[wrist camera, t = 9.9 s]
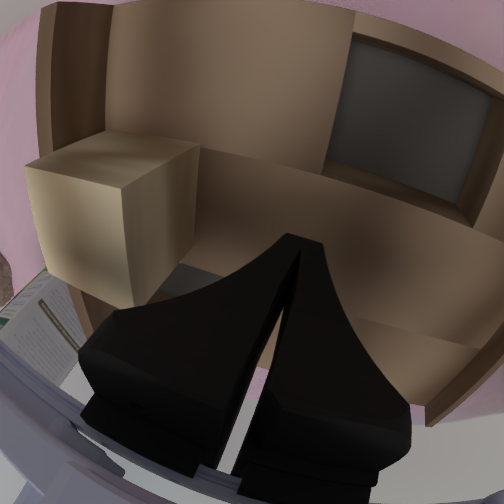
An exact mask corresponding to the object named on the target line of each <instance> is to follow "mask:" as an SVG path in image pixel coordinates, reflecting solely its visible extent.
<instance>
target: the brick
mask: <svg viewBox="0 0 504 504" xmlns="http://www.w3.org/2000/svg"><path fill="white" fill-rule="evenodd" d="M11 279H12V273H11V268H10V265H9V263H8V262H7V260H5V258H4V257H3V256H2V254H1V253H0V307H2V306H4V305H5V304H6V303H7V302H8V301H9V300H11V297H12V296H13V292H14V290H13V287H12V280H11Z"/></svg>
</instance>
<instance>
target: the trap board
mask: <svg viewBox="0 0 504 504" xmlns="http://www.w3.org/2000/svg"><path fill="white" fill-rule="evenodd" d="M36 119H37V135H38V146H39V156H40V158H41V157H43V156H45V155H47V154H50V153H52V152H54V151H56V150H59V149H61V148H63V147H65V146H68V145H70V144H72V143H75V142H77V141H80V140H82V139H85V138H87V137H90V136H92V135H95V134H98V133H100V132H103V131H106V130H113V131H122V132H130V133H138V134H145V135H152V136H159V137H165V138H171V139H177V140H183V141H189V142H195V143H200V155H199V167H198V180H197V194H196V210H195V227H194V246H193V247H192V248H191V250H190V251H189V252H188V253H187V254H186V255H185V257H184V258H183V259H182V260H181V261H180V263H179V264H178V265H177V266H176V267H175V269H174V270H173V271H172V272H171V273H170V275H169V276H168V277H167V278H166V280H165V281H164V282H163V283H162V284H161V286H160V287H159V288H158V289H157V291H156V292H155V293H154V294H153V295H152V297H151V298H150V299H149V300H148V302H147V303H146V304H145V305H148V304H152V303H156V302H160V301H164V300H168V299H171V298H175V297H178V296H181V295H184V294H187V293H190V292H193V291H195V290H198V289H200V288H203V287H205V286H207V285H210V284H212V283H214V282H216V281H218V280H220V279H222V278H224V277H226V276H228V275H230V274H231V273H233V272H235V271H237V270H238V269H240V268H241V267H243V266H244V265H246V264H247V263H249V262H251V261H252V260H254V259H255V258H256V257H258V256H259V255H260V254H262V253H263V252H264V251H266V250H267V249H268V248H269V247H270V246H272V245H273V244H274V243H275V242H276V241H277V240H278V239H279V238H280V237H281V236H282V235H283V234H285V233H290V234H294V235H297V236H301V237H304V238H307V239H311V240H314V241H317V242H321V243H322V244H323V245H324V249H325V255H326V260H327V264H328V268H329V271H330V275H331V278H332V281H333V284H334V287H335V290H336V292H337V295H338V297H339V300H340V302H341V305H342V307H343V309H344V312H345V314H346V316H347V318H348V320H349V322H350V324H351V326H352V328H353V330H354V331H355V333H356V335H357V337H358V338H359V340H360V341H361V343H362V345H363V346H364V348H365V349H366V351H367V352H368V354H369V355H370V357H371V358H372V360H373V361H374V363H375V364H376V365H377V366H378V368H379V369H380V370H381V372H382V373H383V374H384V376H385V377H386V378H387V380H388V381H389V382H390V383H391V384H392V385H393V386H394V388H395V389H396V390H397V391H398V392H399V393H400V394H401V395H402V397H403V398H404V399H405V400H406V401H407V402H408V403H409V404H415V405H421V406H425V427H432V426H434V425H435V424H436V423H438V422H439V421H440V420H442V419H443V418H444V417H445V416H447V415H448V414H449V413H450V412H452V411H453V410H454V409H455V408H456V407H458V406H459V405H460V404H461V403H462V402H463V401H465V400H466V399H467V398H468V397H469V396H470V395H471V394H472V393H473V392H475V391H476V390H477V389H478V388H479V387H480V386H481V385H482V384H483V383H484V382H485V381H486V380H487V379H488V378H489V377H490V376H491V375H492V374H493V373H494V372H495V371H496V370H497V369H498V368H499V367H500V366H501V365H502V364H503V363H504V73H503V72H501V71H500V70H498V69H496V68H495V67H493V66H491V65H490V64H488V63H486V62H484V61H482V60H481V59H479V58H477V57H475V56H473V55H471V54H469V53H467V52H465V51H463V50H461V49H459V48H457V47H455V46H453V45H451V44H449V43H447V42H444V41H442V40H440V39H438V38H435V37H433V36H430V35H428V34H426V33H423V32H420V31H418V30H415V29H413V28H410V27H407V26H404V25H401V24H399V23H396V22H392V21H389V20H386V19H383V18H380V17H376V16H373V15H369V14H366V13H362V12H358V11H354V10H350V9H346V8H341V7H337V6H332V5H327V4H321V3H316V2H310V1H303V0H141V1H135V2H129V3H123V4H118V5H106V4H96V3H82V2H55V3H53V4H50V5H48V6H45V7H43V8H41V15H40V22H39V31H38V42H37V56H36ZM66 283H67V282H66ZM67 286H68V290H69V293H70V296H71V299H72V302H73V305H74V307H75V310H76V313H77V316H78V318H79V321H80V324H81V326H82V329H83V332H84V334H85V337H86V339H87V340H88V338H89V337H90V336H91V335H92V334H93V332H94V331H95V330H96V329H97V328H98V326H99V325H100V324H101V323H102V322H103V321H104V320H105V319H106V318H107V317H108V316H109V315H110V314H111V313H112V312H113V311H114V310H120V309H119V308H117V307H115V306H113V305H110V304H108V303H106V302H104V301H102V300H100V299H98V298H96V297H94V296H92V295H90V294H88V293H86V292H84V291H82V290H80V289H78V288H76V287H74V286H72V285H70V284H68V283H67ZM282 313H283V310H282V312H281V315H280V317H279V319H278V321H277V323H276V325H275V327H274V330H273V332H272V334H271V336H270V338H269V340H268V342H267V344H266V347H265V349H264V351H263V353H262V355H261V357H260V359H259V362H258V364H257V366H258V367H261V368H265V369H268V370H269V369H270V366H271V362H272V358H273V354H274V349H275V345H276V340H277V336H278V331H279V327H280V322H281V318H282Z"/></svg>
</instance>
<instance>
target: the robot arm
mask: <svg viewBox="0 0 504 504" xmlns="http://www.w3.org/2000/svg"><path fill="white" fill-rule="evenodd" d="M282 310H283V313H282V318H281V322H280V327H279V331H278V336H277V340H276V345H275V349H274V354H273V358H272V362H271V366H270V369H269V372H268V375H267V378H266V381H265V384H264V387H263V390H262V392H261V395H260V398H259V401H258V404H257V406H256V409H255V412H254V415H253V417H252V420H251V423H250V425H249V428H248V431H247V433H246V436H245V438H244V441H243V444H242V446H241V449H240V451H239V454H238V456H237V459H236V461H235V464H234V467H233V469H232V471H231V474H230V475H229V474H226V473H224V472H221V471H218V470H216V469H217V467H218V464H219V462H220V460H221V457H222V455H223V452H224V450H225V447H226V444H227V442H228V439H229V437H230V434H231V432H232V429H233V427H234V424H235V422H236V419H237V416H238V414H239V411H240V409H241V406H242V403H243V401H244V398H245V396H246V393H247V390H248V388H249V385H250V382H251V380H252V377H253V374H254V372H255V369H256V366H257V364H258V362H259V359H260V357H261V355H262V353H263V351H264V349H265V347H266V344H267V342H268V340H269V338H270V336H271V334H272V332H273V330H274V327H275V325H276V323H277V321H278V319H279V317H280V315H281V312H282ZM78 361H79V364H80V366H81V369H82V371H83V372H84V375H85V376H86V378H87V380H88V382H89V383H90V385H91V387H92V389H93V390H94V392H95V393H94V395H93V396H92V397H91V399H90V400H89V402H88V403H87V405H86V406H85V405H84V404H82V403H81V402H79V401H77V400H76V399H75V398H73V397H72V396H70V395H68V394H67V393H66V392H64V391H63V390H62V389H60V388H59V387H57V386H56V385H55V384H53V383H52V382H51V381H49V380H48V379H47V378H45V377H44V376H43V375H42V374H40V373H39V372H38V371H36V370H35V369H34V368H33V367H31V366H30V365H29V364H28V363H27V362H25V361H24V360H23V359H22V358H21V357H20V356H18V355H17V354H16V353H15V352H14V351H13V350H12V349H10V348H9V347H8V346H7V345H6V344H5V343H4V342H3V341H2V340H1V339H0V451H1V453H2V454H3V455H4V457H5V458H6V459H7V460H8V461H9V462H10V463H11V465H12V466H13V467H14V468H15V469H16V470H17V471H18V472H19V473H20V474H21V475H22V476H23V477H24V478H25V479H26V480H27V483H26V484H25V486H24V487H23V489H22V491H21V493H20V494H19V496H18V498H17V499H16V501H15V502H14V504H176V503H174V502H171V501H169V500H167V499H165V498H162V497H160V496H158V495H156V494H153V493H151V492H149V491H147V490H145V489H143V488H141V487H139V486H137V485H135V484H133V483H131V482H129V481H127V480H125V479H123V476H124V474H125V470H124V469H123V468H122V467H120V466H119V465H117V464H116V463H115V462H113V460H111V459H110V458H109V457H108V456H107V455H106V453H105V451H104V450H102V449H100V448H99V447H98V446H96V445H95V444H93V443H92V442H91V441H89V440H88V439H87V438H85V437H84V436H83V435H81V434H80V433H79V432H78V430H79V431H81V432H82V433H84V434H85V435H87V436H88V437H90V438H91V439H93V440H94V441H96V442H98V443H99V444H101V445H102V446H104V447H106V448H107V449H109V450H111V451H113V452H114V453H116V454H118V455H120V456H121V457H123V458H125V459H127V460H129V461H130V462H132V463H134V464H136V465H138V466H140V467H142V468H144V469H146V470H148V471H150V472H152V473H154V474H156V475H159V476H161V477H163V478H165V479H167V480H169V481H172V482H174V483H177V484H179V485H181V486H184V487H186V488H189V489H191V490H194V491H196V492H199V493H202V494H204V495H207V496H210V497H213V498H216V499H219V500H221V501H225V502H228V503H231V504H377V503H369V498H370V492H371V487H374V486H376V484H377V482H378V475H379V471H381V470H383V469H384V468H386V467H388V466H390V465H392V464H394V463H395V462H397V461H399V460H400V459H401V458H402V457H404V456H405V455H406V454H407V453H408V452H409V450H410V448H411V435H412V434H411V433H412V422H411V413H410V405H409V403H408V402H407V401H406V400H405V399H404V398H403V397H402V395H401V394H400V393H399V392H398V391H397V390H396V389H395V388H394V386H393V385H392V384H391V383H390V382H389V381H388V380H387V378H386V377H385V376H384V374H383V373H382V372H381V370H380V369H379V368H378V366H377V365H376V364H375V363H374V361H373V360H372V358H371V357H370V355H369V354H368V352H367V351H366V349H365V348H364V346H363V345H362V343H361V341H360V340H359V338H358V337H357V335H356V333H355V331H354V330H353V328H352V326H351V324H350V322H349V320H348V318H347V316H346V314H345V312H344V309H343V307H342V305H341V302H340V300H339V297H338V295H337V292H336V290H335V287H334V284H333V281H332V278H331V275H330V271H329V268H328V264H327V260H326V255H325V249H324V245H323V244H322V243H321V242H317V241H314V240H311V239H307V238H304V237H301V236H297V235H294V234H290V233H285V234H283V235H282V236H281V237H280V238H279V239H278V240H277V241H276V242H275V243H274V244H273V245H272V246H270V247H269V248H268V249H267V250H266V251H264V252H263V253H262V254H260V255H259V256H258V257H256V258H255V259H254V260H252V261H251V262H249V263H247V264H246V265H244V266H243V267H241V268H240V269H238V270H237V271H235V272H233V273H231V274H230V275H228V276H226V277H224V278H222V279H220V280H218V281H216V282H214V283H212V284H210V285H207V286H205V287H203V288H200V289H198V290H195V291H193V292H190V293H187V294H184V295H181V296H178V297H175V298H171V299H168V300H164V301H160V302H156V303H152V304H148V305H142V306H137V307H131V308H126V309H120V310H114V311H113V312H112V313H111V314H110V315H109V316H108V317H107V318H106V319H105V320H104V321H103V322H102V323H101V324H100V325H99V326H98V328H97V329H96V330H95V331H94V332H93V334H92V335H91V336H90V337H89V338H88V340H87V341H86V342H85V343H84V344H83V346H82V347H81V348H80V349H79V351H78ZM77 429H78V430H77ZM378 504H379V503H378ZM438 504H504V490H501V491H498V492H496V493H494V494H492V495H489V496H487V497H486V498H484V499H478V500H471V501H463V502H452V503H438Z"/></svg>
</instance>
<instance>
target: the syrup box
mask: <svg viewBox="0 0 504 504" xmlns="http://www.w3.org/2000/svg"><path fill="white" fill-rule="evenodd" d="M0 339H1V340H2V341H3V342H4V343H5V344H6V345H7V346H8V347H9V348H10V349H12V350H13V351H14V352H15V353H16V354H17V355H18V356H20V357H21V358H22V359H23V360H24V361H25V362H27V363H28V364H29V365H30V366H31V367H33V368H34V369H35V370H36V371H38V372H39V373H40V374H42V375H43V376H44V377H45V378H47V379H48V380H49V381H51V382H52V383H53V384H55V385H56V386H57V387H59V386H60V385H61V384H62V382H63V381H64V379H65V378H66V377H67V375H68V374H69V373H70V371H71V370H72V368H73V367H74V366H75V364H76V363H77V362H78V351H79V349H80V348H81V347H82V346H83V344H84V343H85V342H86V341H87V339H86V337H85V334H84V332H83V329H82V326H81V324H80V321H79V318H78V316H77V313H76V310H75V307H74V305H73V302H72V299H71V296H70V293H69V290H68V286H67V283H66V282H65V281H63V280H61V279H59V278H57V277H55V276H54V275H52V274H50V273H48V269H47V267H46V268H45V269H43V270H42V271H41V272H40V273H39V274H38V275H37V276H36V277H35V278H34V279H33V280H32V281H31V282H29V283H28V284H27V285H26V286H25V287H24V288H23V289H22V290H21V291H20V292H19V293H18V294H17V295H16V296H15V297H14V298H13V299H12V300H11V301H10V302H9V303H8V304H7V305H6V306H5V307H4V308H3V309H2V310H1V311H0Z"/></svg>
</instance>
